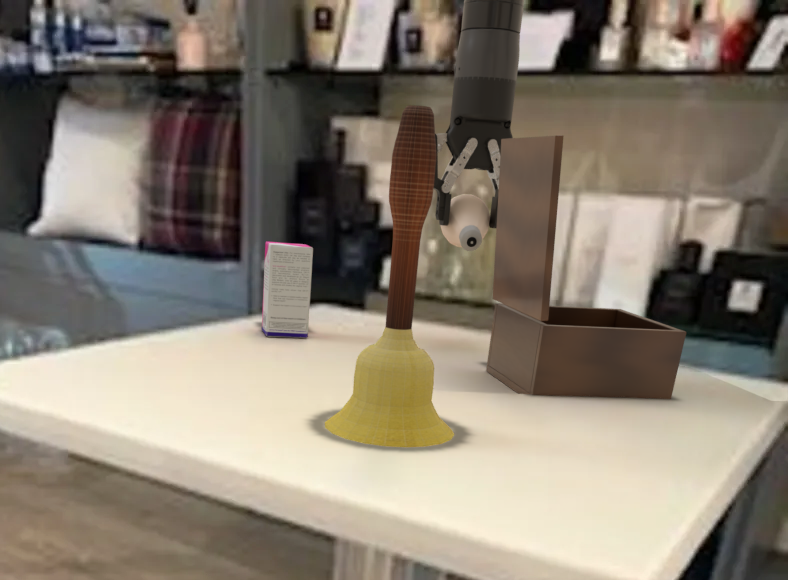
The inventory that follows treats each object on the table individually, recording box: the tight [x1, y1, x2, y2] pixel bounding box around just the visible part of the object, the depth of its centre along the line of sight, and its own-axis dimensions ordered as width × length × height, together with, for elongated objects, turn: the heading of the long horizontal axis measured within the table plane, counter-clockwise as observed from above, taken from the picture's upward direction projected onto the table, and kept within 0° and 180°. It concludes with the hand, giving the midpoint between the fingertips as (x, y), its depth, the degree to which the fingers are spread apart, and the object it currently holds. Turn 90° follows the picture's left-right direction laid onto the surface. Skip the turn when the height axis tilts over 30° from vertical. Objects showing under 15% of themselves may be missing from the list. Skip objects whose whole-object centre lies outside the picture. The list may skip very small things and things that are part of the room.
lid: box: [492, 134, 565, 321], centre depth 90 cm, size 16×16×1 cm
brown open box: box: [485, 302, 687, 400], centre depth 97 cm, size 16×16×8 cm
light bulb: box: [439, 193, 490, 252], centre depth 113 cm, size 7×7×11 cm
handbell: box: [324, 104, 455, 448], centre depth 70 cm, size 12×12×25 cm
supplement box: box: [261, 240, 314, 339], centre depth 116 cm, size 6×6×12 cm
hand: (469, 226), depth 113 cm, fingers closed on light bulb, 6 cm apart
